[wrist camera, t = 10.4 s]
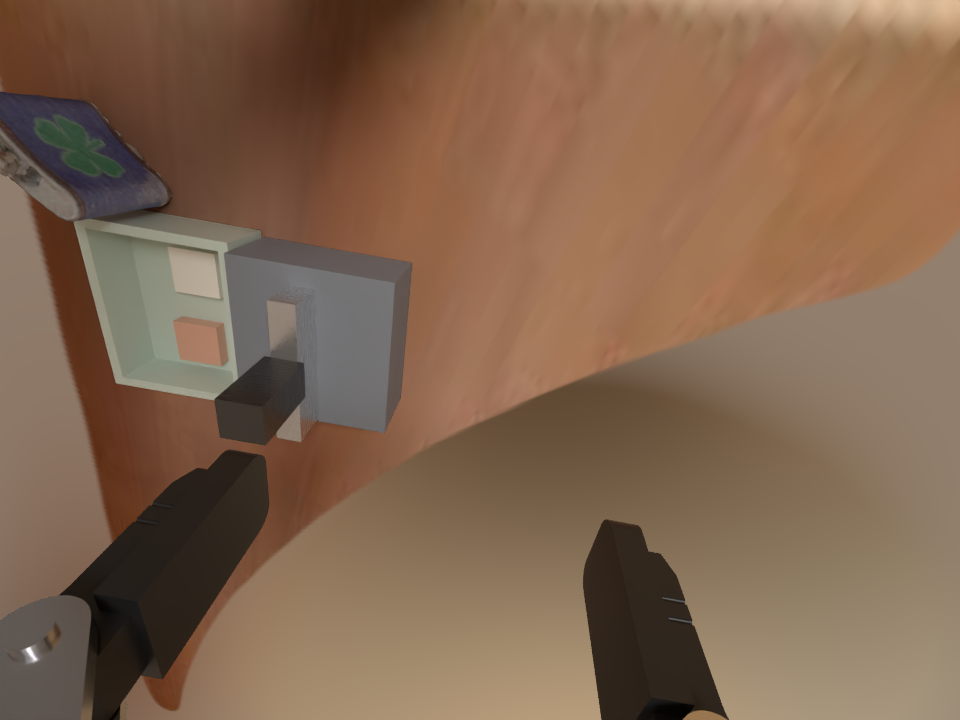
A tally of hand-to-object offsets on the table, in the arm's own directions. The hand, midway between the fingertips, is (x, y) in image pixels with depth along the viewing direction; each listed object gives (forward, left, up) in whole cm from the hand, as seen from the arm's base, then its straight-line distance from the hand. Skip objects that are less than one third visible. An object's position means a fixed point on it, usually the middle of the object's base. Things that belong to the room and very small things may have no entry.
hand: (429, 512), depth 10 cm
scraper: (+10, -14, -24) cm, 29 cm away
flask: (-2, -31, -30) cm, 43 cm away
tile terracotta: (+13, -26, -28) cm, 40 cm away
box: (+10, -26, -30) cm, 41 cm away
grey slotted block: (+10, -13, -30) cm, 34 cm away
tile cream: (+6, -25, -28) cm, 38 cm away
